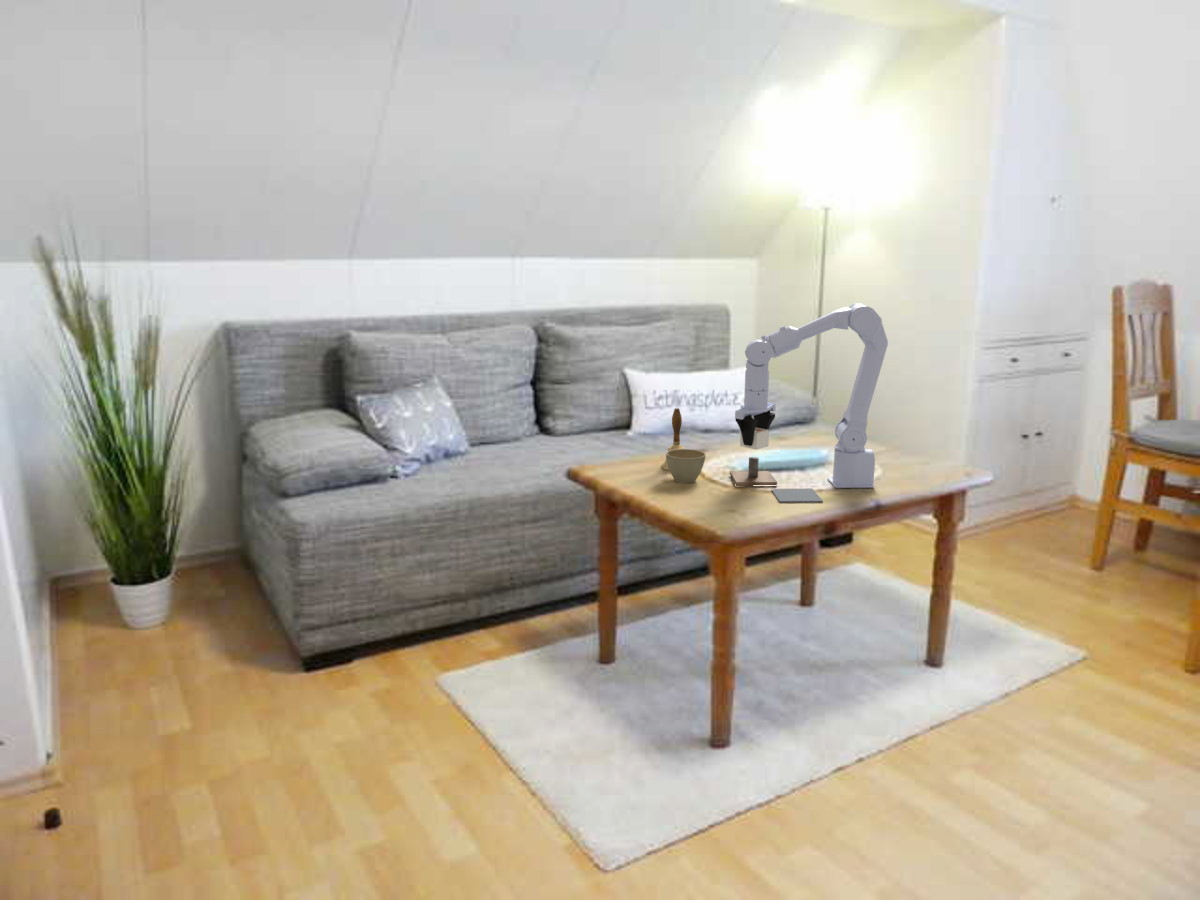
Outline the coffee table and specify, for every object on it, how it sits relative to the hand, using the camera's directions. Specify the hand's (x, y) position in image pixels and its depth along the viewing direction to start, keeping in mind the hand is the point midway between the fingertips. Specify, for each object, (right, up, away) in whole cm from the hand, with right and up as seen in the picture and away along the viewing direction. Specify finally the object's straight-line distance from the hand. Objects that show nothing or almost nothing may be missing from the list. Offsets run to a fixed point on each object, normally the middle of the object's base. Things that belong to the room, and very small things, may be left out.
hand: (754, 443), depth 213 cm
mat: (+8, -13, -10) cm, 18 cm away
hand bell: (-18, -7, +16) cm, 25 cm away
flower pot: (-17, -10, +3) cm, 20 cm away
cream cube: (0, -1, 0) cm, 1 cm away
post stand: (0, -10, +2) cm, 10 cm away
